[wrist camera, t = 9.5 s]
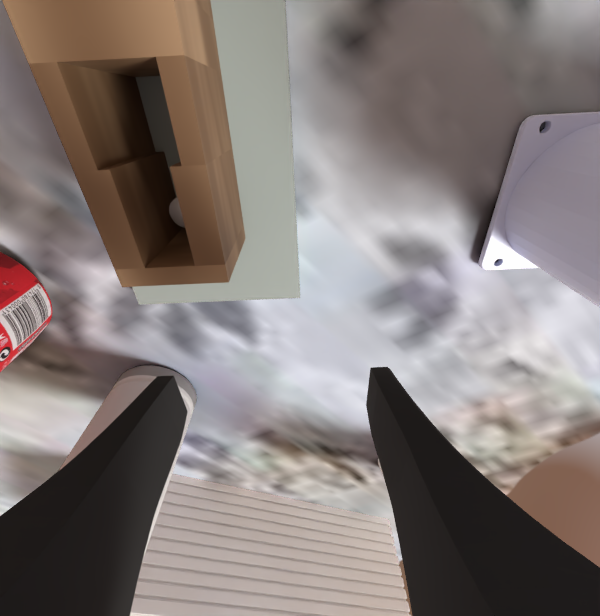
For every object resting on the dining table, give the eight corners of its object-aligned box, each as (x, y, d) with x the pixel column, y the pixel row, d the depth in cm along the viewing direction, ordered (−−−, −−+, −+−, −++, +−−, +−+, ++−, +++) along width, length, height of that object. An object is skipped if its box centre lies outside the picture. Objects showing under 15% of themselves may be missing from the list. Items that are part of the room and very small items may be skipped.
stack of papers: (113, 507, 36) (53, 638, 27) (124, 461, 31) (55, 605, 22) (347, 548, 44) (360, 661, 35) (388, 516, 39) (416, 641, 30)
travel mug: (181, 356, 23) (-126, 1027, 6) (206, 412, 26) (54, 931, 10) (102, 364, 23) (-393, 1019, 7) (137, 418, 27) (-123, 930, 10)
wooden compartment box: (157, -359, 8) (-3, -896, 4) (245, 238, 17) (228, 282, 12) (-12, -347, 8) (-358, -859, 4) (165, 242, 17) (122, 287, 12)
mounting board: (269, -317, 9) (257, -506, 6) (299, 288, 20) (300, 316, 17) (-73, -293, 9) (-232, -466, 6) (146, 294, 20) (123, 323, 17)
